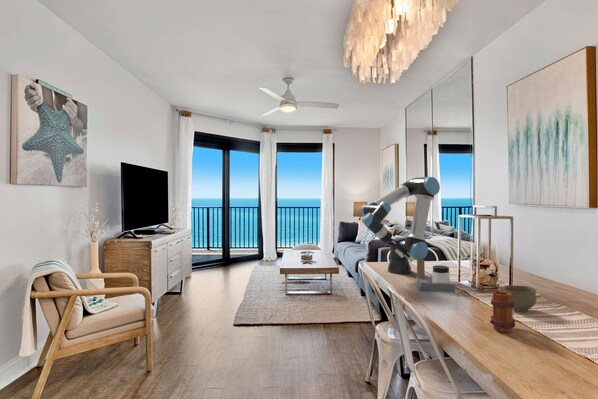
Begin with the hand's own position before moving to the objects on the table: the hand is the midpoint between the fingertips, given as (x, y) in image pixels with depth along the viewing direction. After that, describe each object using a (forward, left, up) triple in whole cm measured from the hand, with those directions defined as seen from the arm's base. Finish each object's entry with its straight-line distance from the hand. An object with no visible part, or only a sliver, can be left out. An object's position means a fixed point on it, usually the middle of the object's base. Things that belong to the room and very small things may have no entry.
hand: (408, 258), depth 201 cm
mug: (+67, +31, -13) cm, 75 cm away
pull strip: (+8, +14, -13) cm, 21 cm away
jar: (+15, +16, -13) cm, 26 cm away
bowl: (+44, +44, -13) cm, 64 cm away
